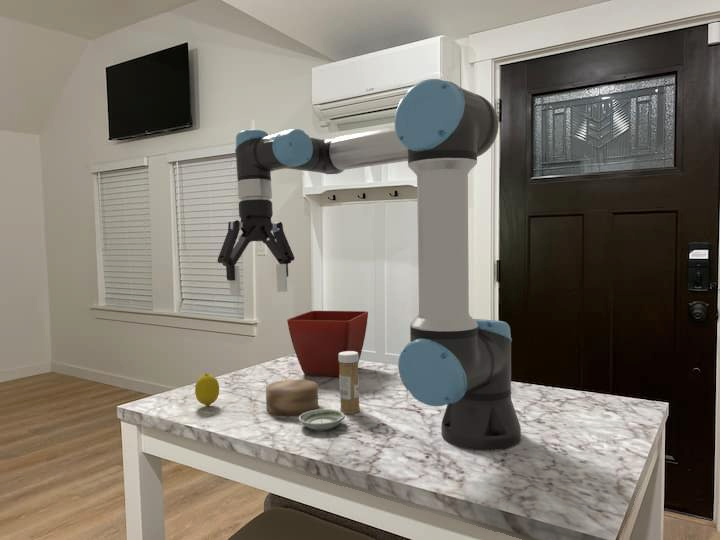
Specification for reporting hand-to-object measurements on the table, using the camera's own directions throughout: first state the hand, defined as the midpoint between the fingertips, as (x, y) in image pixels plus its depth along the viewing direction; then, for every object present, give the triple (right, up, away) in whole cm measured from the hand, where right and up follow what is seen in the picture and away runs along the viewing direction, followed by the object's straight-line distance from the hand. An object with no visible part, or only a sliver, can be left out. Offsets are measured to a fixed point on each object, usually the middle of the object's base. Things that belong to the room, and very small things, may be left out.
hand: (259, 293), depth 121 cm
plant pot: (+14, -25, +37) cm, 47 cm away
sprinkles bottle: (+21, -27, 0) cm, 34 cm away
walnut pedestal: (+7, -27, +3) cm, 28 cm away
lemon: (-13, -27, +6) cm, 31 cm away
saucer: (+15, -28, -10) cm, 33 cm away
